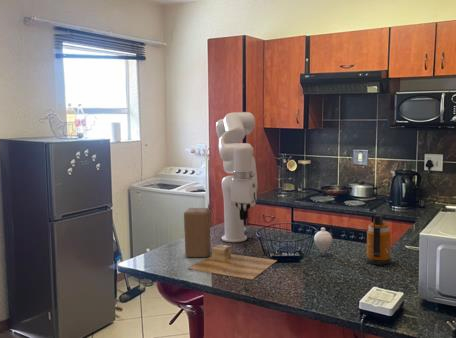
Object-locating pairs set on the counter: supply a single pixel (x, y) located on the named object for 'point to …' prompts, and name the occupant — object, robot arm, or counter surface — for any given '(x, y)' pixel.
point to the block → (197, 232)
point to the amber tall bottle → (378, 241)
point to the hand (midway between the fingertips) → (243, 219)
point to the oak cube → (221, 252)
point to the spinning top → (323, 240)
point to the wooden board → (235, 266)
